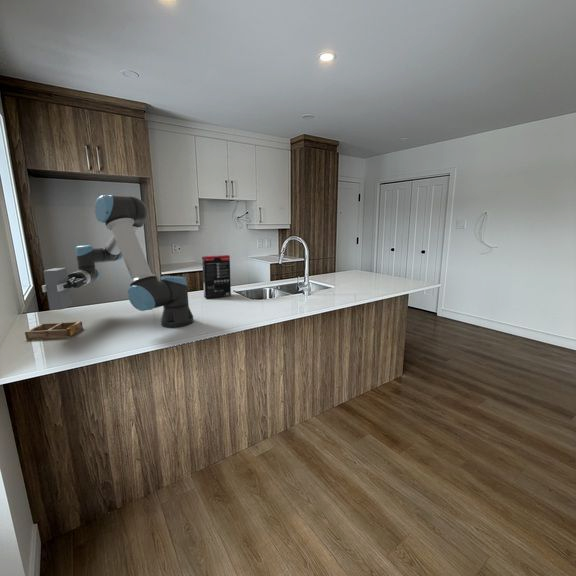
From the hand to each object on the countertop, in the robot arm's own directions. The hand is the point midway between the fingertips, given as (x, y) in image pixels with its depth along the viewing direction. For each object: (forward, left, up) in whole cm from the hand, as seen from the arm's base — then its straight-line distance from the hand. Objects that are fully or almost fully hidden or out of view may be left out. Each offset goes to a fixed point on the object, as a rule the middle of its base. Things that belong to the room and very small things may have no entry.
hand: (50, 288), depth 133 cm
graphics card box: (+24, -87, -22) cm, 93 cm away
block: (+5, -3, -9) cm, 11 cm away
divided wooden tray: (+6, +1, -22) cm, 23 cm away
